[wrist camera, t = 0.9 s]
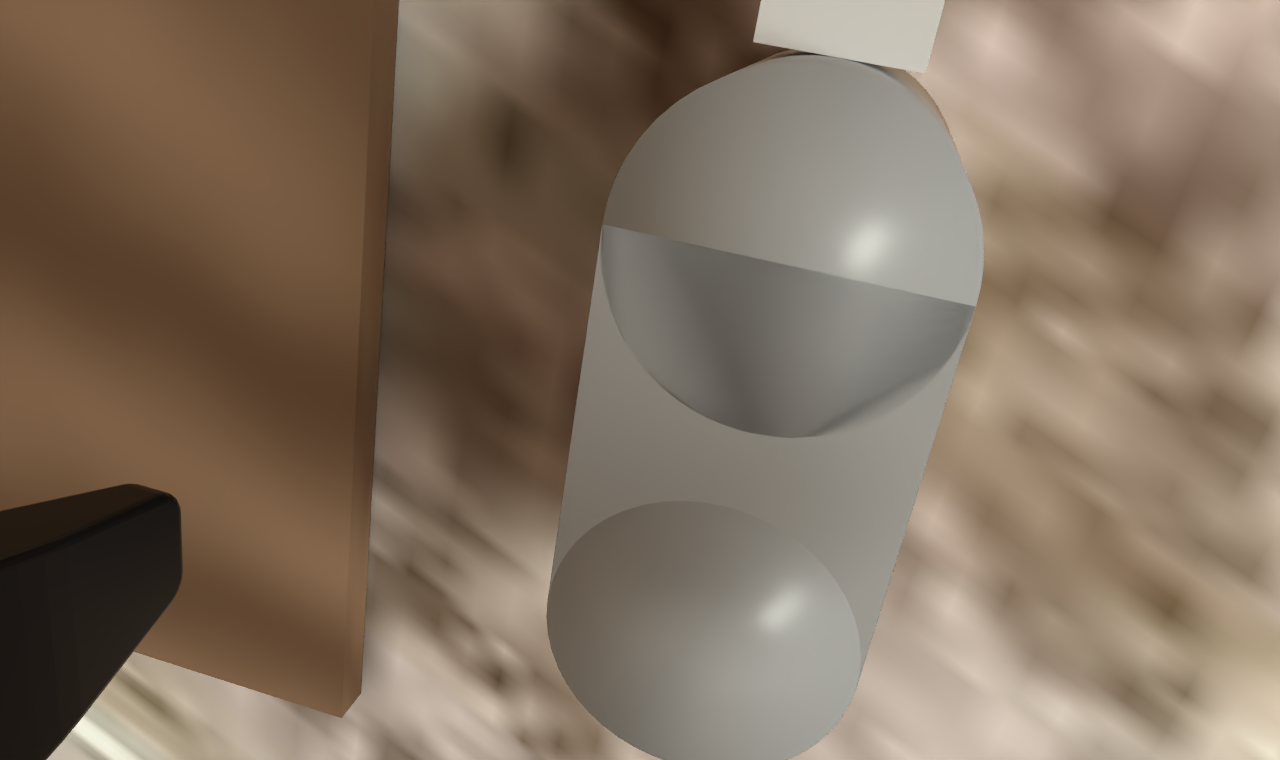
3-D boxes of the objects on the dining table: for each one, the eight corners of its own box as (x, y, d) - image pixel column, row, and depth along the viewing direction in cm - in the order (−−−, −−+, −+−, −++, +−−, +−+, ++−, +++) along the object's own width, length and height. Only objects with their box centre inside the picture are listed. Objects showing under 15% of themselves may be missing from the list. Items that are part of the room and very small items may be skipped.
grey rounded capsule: (839, 595, 17) (818, 807, 13) (623, 536, 18) (530, 718, 13) (1046, -118, 13) (1129, -184, 8) (747, -163, 13) (670, -246, 9)
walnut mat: (361, 693, 21) (342, 718, 20) (-35, 568, 22) (-67, 587, 22) (406, -143, 14) (380, -151, 14) (-151, -234, 16) (-200, -245, 15)
